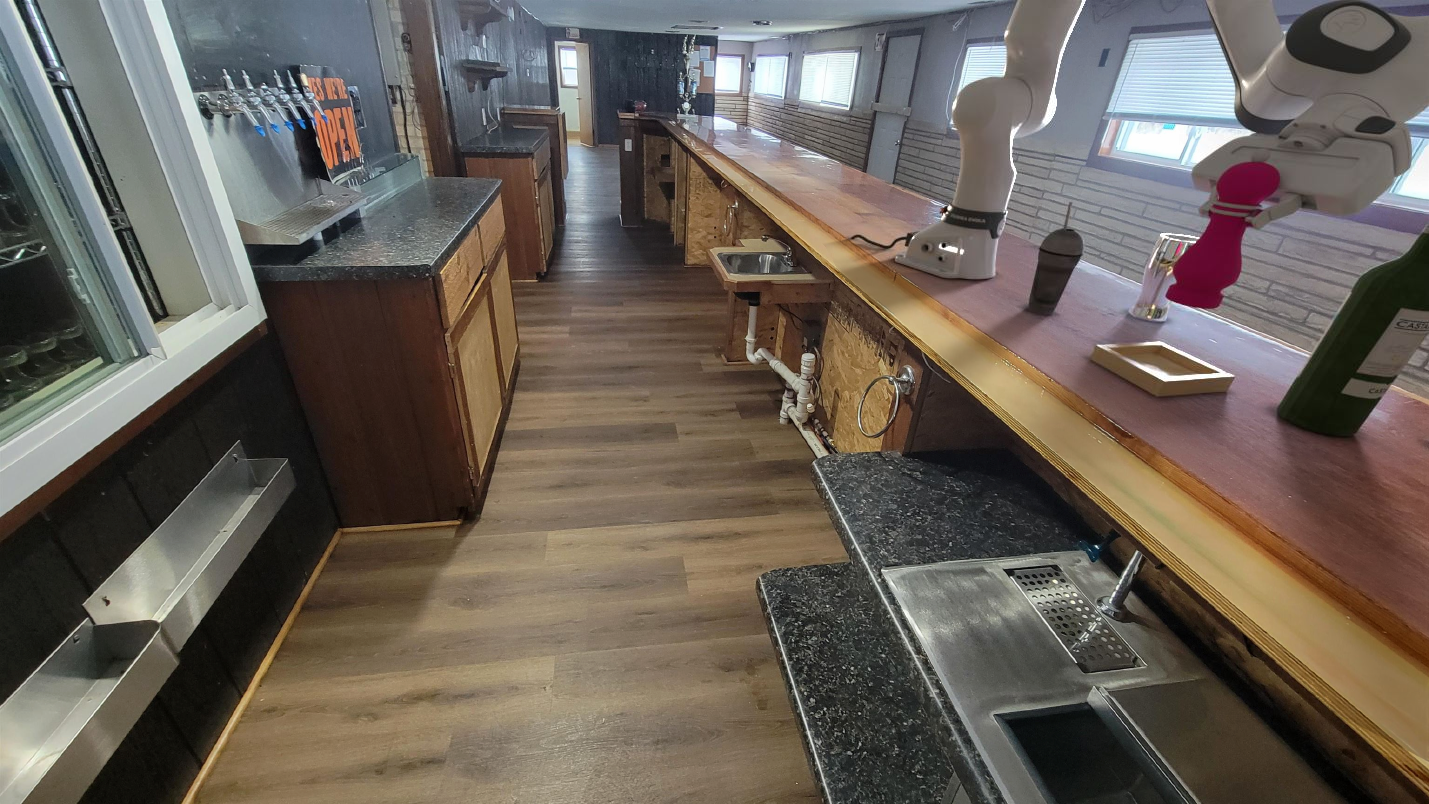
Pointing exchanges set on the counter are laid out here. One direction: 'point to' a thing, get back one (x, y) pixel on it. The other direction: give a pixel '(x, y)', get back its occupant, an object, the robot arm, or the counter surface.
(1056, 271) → the beverage cup
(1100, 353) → the tray
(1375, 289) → the wine bottle
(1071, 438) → the counter surface
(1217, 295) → the pepper mill
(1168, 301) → the beer glass
